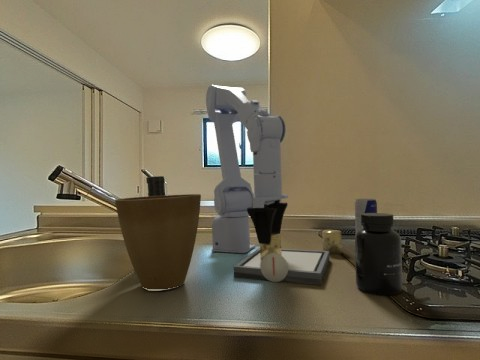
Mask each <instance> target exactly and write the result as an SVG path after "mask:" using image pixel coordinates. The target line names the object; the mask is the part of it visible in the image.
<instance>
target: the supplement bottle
mask: <svg viewBox="0 0 480 360" xmlns="http://www.w3.org/2000/svg"><path fill="white" fill-rule="evenodd" d="M360 223H361V225H362V229H361V230H359V231H358V232H357V233H356V232H355V235H354V249H355V250H354V252H355V254H354V255H355V257H354V259H355V284H356V287H358V288H359V290H361V291H363V292H366V293H369V294H374V295H378V296H394V295H397V294H399V293H401V291H402V290H403V265H402V263H403V260H402V237H401V236H400V234H399V233H398V232H397V231H395V230H393V227H395V223H394V214H392V213H386V212H385V213H383V212H377V213H364V214H361V222H360Z"/></svg>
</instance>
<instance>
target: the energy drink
mask: <svg viewBox="0 0 480 360" xmlns="http://www.w3.org/2000/svg"><path fill="white" fill-rule="evenodd" d="M364 213H378V202H377V199H375V198H356V199H355V201H354V219H355V220H354V222H355V234H356V233H357V232H358V231H359V230H361V229H362V225H361V223H360V222H361V214H364Z"/></svg>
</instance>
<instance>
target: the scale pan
mask: <svg viewBox="0 0 480 360" xmlns="http://www.w3.org/2000/svg"><path fill="white" fill-rule="evenodd" d="M282 256H283V257H284V258H285V260H286V261H287V264H288V269H289V270H302V271H315V270H316V268H317V266H318V264H319V261H320V259H321V257H322V253H308V252H289V251H282ZM261 261H262V260H261V259H260V253H259V254H258V255H256V256H255V257H254V258H253V259H251V260H250V261H249V262H248V263H246V264H245V265H244V266H249V267H260V265H261Z"/></svg>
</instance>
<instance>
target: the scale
mask: <svg viewBox="0 0 480 360" xmlns="http://www.w3.org/2000/svg"><path fill="white" fill-rule="evenodd" d="M281 250H282V251H289V252H308V253H322V257H321V259H320V261H319V264H318V266H317V268H316V270H315V271H302V270H289V269H288V264H287V261H286V260H285V258H284V257H283V256H281V255H279V254H277V253H270V254H267V255H266V256H265V257H264V258H263V259H262V261H261V265H260V267H249V266H244V265H245V264H246V263H248V262H249V261H250V260H251V259H253V258H254V257H255V256H256V255H258V254H259V253H260V247H258V248H256V250H254V251H253V252H252V253H249V255H247V256H246V257H244V258H243V259H241V260H240V261H239V262H238V263H237V264H234V266H233V277H234V278H238V279H239V278H240V279H249V280H250V279H251V280H259V281H260V280H261V281H270V282H274V283H277V282H283V283H294V284H306V285H317V286H318V285H319V286H322V283H323V281H324V277H325V274H326V273H327V272H326V271H327V268H328V266H329V264H330V263H329V262H330V254H329V251H323V250H315V249H314V250H313V249H311V250H310V249H293V248H292V249H291V248H289V249H288V248H281Z"/></svg>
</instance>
